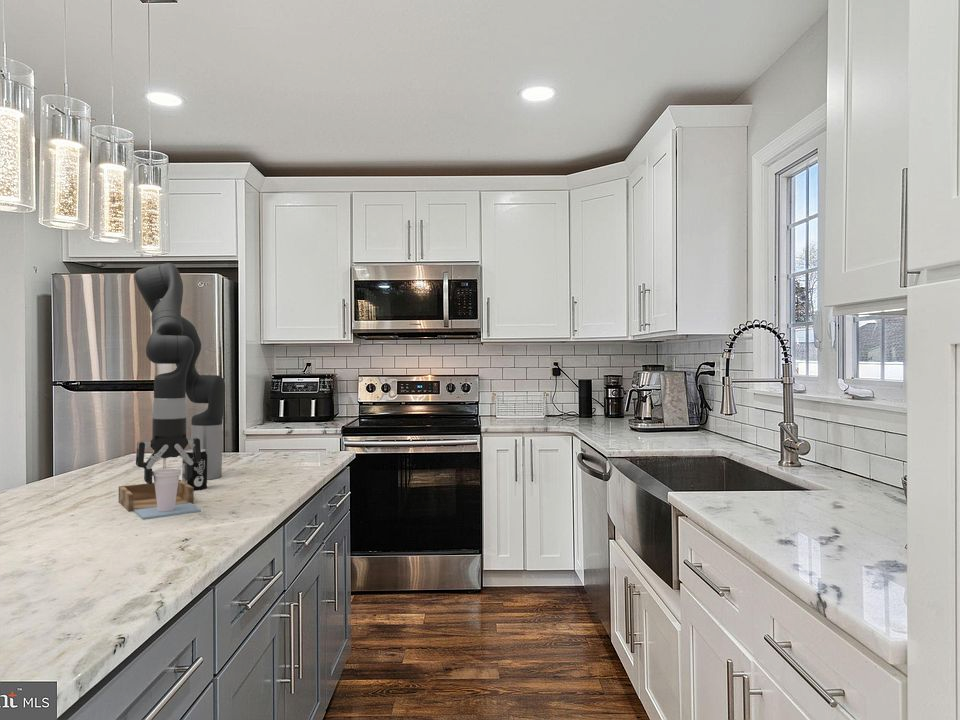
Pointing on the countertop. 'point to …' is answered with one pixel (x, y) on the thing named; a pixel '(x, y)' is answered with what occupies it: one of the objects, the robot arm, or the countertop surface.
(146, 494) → the tray
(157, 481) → the smoothie
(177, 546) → the countertop surface
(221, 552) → the countertop surface
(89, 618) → the countertop surface
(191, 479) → the beverage can
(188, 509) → the flat blue panel
